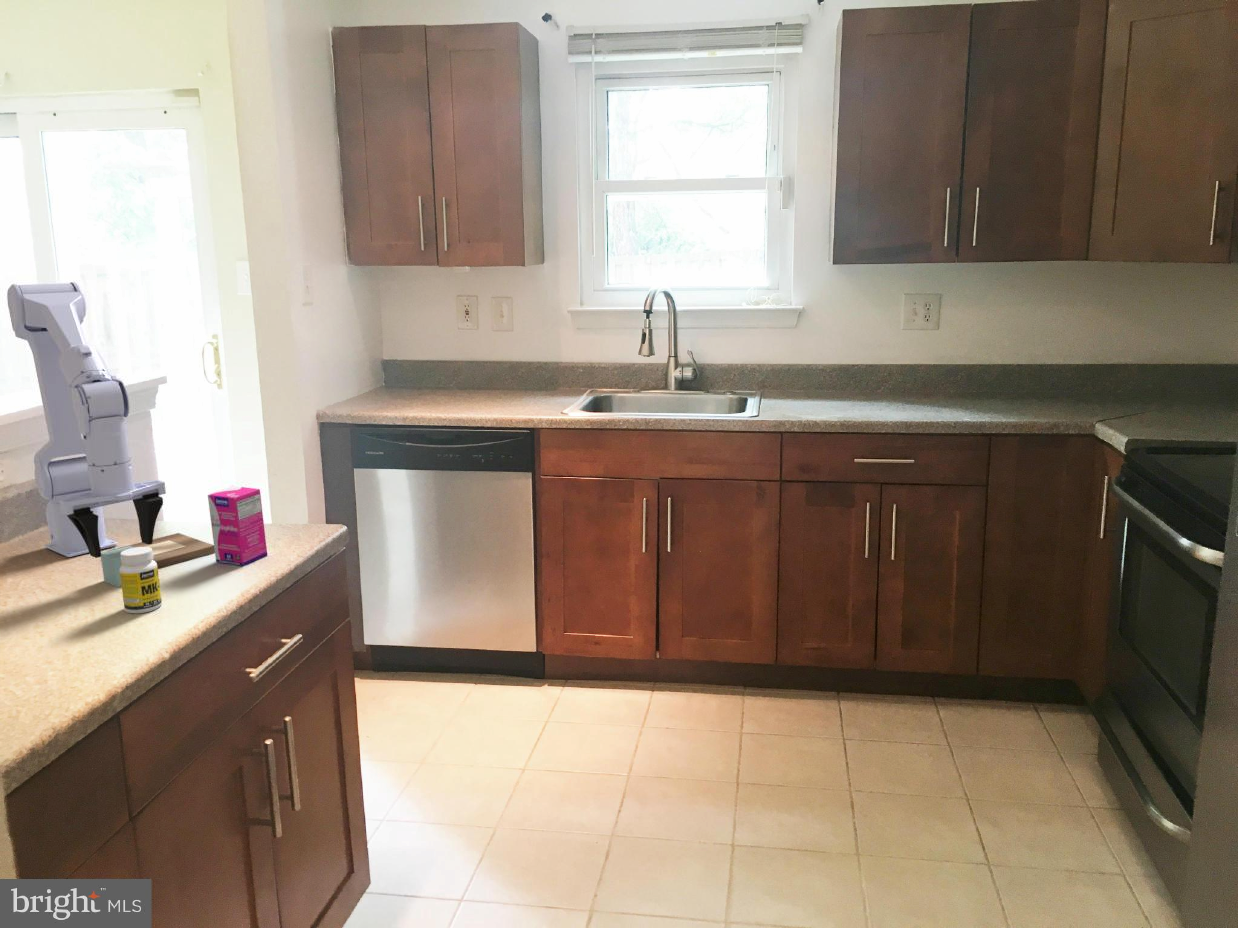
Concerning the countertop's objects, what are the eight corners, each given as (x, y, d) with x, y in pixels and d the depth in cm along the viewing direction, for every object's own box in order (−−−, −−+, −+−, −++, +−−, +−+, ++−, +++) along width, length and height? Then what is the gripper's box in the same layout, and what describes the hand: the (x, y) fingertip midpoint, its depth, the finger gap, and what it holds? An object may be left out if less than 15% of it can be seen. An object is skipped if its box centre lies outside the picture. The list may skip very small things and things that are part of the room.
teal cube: (104, 581, 143) (100, 553, 142) (134, 573, 147) (130, 545, 146) (118, 587, 141) (113, 558, 140) (148, 578, 144) (144, 550, 143)
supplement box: (214, 562, 151) (205, 493, 148) (241, 551, 156) (233, 485, 153) (242, 567, 148) (234, 497, 146) (269, 555, 154) (261, 487, 151)
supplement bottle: (147, 615, 129) (139, 557, 128) (117, 613, 130) (108, 555, 128) (169, 602, 134) (162, 546, 132) (140, 600, 135) (132, 544, 133)
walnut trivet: (107, 557, 154) (106, 550, 154) (179, 539, 163) (178, 532, 163) (142, 572, 147) (141, 564, 146) (215, 552, 156) (214, 544, 155)
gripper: (68, 475, 132) (83, 567, 135) (170, 456, 143) (181, 541, 146) (47, 468, 136) (62, 558, 139) (148, 451, 147) (159, 534, 150)
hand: (122, 549), depth 143 cm, fingers open, 7 cm apart
